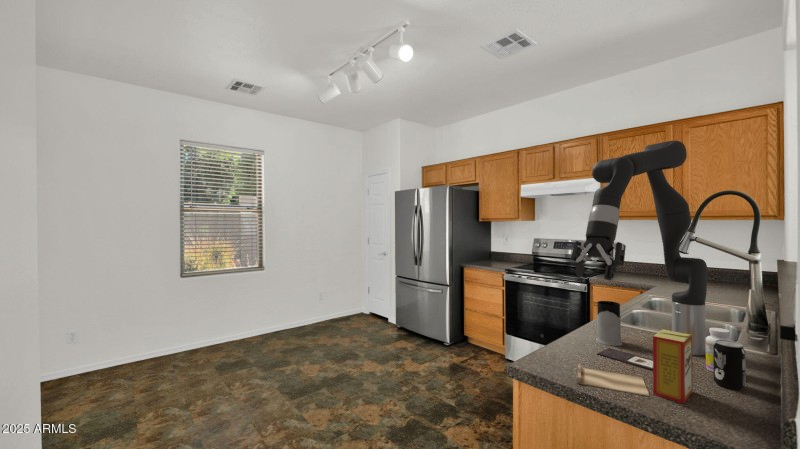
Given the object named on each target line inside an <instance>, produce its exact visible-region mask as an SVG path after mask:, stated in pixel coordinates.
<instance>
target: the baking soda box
mask: <svg viewBox="0 0 800 449" xmlns="http://www.w3.org/2000/svg"><path fill="white" fill-rule="evenodd" d="M652 360H653V371H652V375H653V376H652V378H653V381H652V384H653V385H652V386H653V388H652V390H653V393H652V394H653V395H655V396H657V397H662V398H665V399H667V400H671V401H674V402H678V403H681V404H685V403H686V402H687V400H688V399H689V398H690V396H691V394H692V393H694V392H693V390H694V389H693V355H692V334H687V333H681V332H676V331H672V329H671V330H669V329H664V328H663V329H660V331H659V332H657V333H656V334H654V335H652Z"/></svg>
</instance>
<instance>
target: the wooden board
mask: <svg viewBox="0 0 800 449" xmlns="http://www.w3.org/2000/svg"><path fill="white" fill-rule="evenodd" d="M577 384H578V385H583V386H589V387H593V388H594V387H595V388H599V389H605V390H611V391H617V392H622V393H629V394H634V395H641V396H645V397H650V393H649V389H648V388H647V386H646V383H645V381H644V378H643V377H641V376H636V375H629V374H623V373H617V372H611V371H610V372H609V371H604V370H598V369H594V368H593V369H592V368H585V367H582V365H581V362H577Z"/></svg>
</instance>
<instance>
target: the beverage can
mask: <svg viewBox="0 0 800 449" xmlns="http://www.w3.org/2000/svg"><path fill="white" fill-rule="evenodd" d="M715 342H716V343H715V344H714V346H713V362H714V372H713V381H714V382H715V383H716V385H718V386H719V387H722V388H725V389H729V390H733V391H735V390H736V391H741V390H743V389H745V388H746V385H747V384H746V382H747V380H746V378H747V377H746V376H747V375H746V370H747V369H746V350H745V349H744V344H742V343H741V342H737V341H734V340H733V341H729V340H716V341H715Z"/></svg>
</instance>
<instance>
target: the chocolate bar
mask: <svg viewBox="0 0 800 449" xmlns="http://www.w3.org/2000/svg"><path fill="white" fill-rule="evenodd" d="M599 355H600V356H599ZM597 356H599V357H602V356H603V358H606V357H607V358H606V359H609V358H610V360H613V361H616V360H617V362H619V361H620V363H624V364H626V365H627V364H628V365H630V366H633V367H637V368H641V369H644V370H648V371H651V372H653V358H652V359H651V358H649V357H644V356H641V355H636V354H633V353H629V352H626V351H622V350H617V349H615V348H610V347H608V348H606V349H604V350H602V351H599V352H597Z"/></svg>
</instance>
